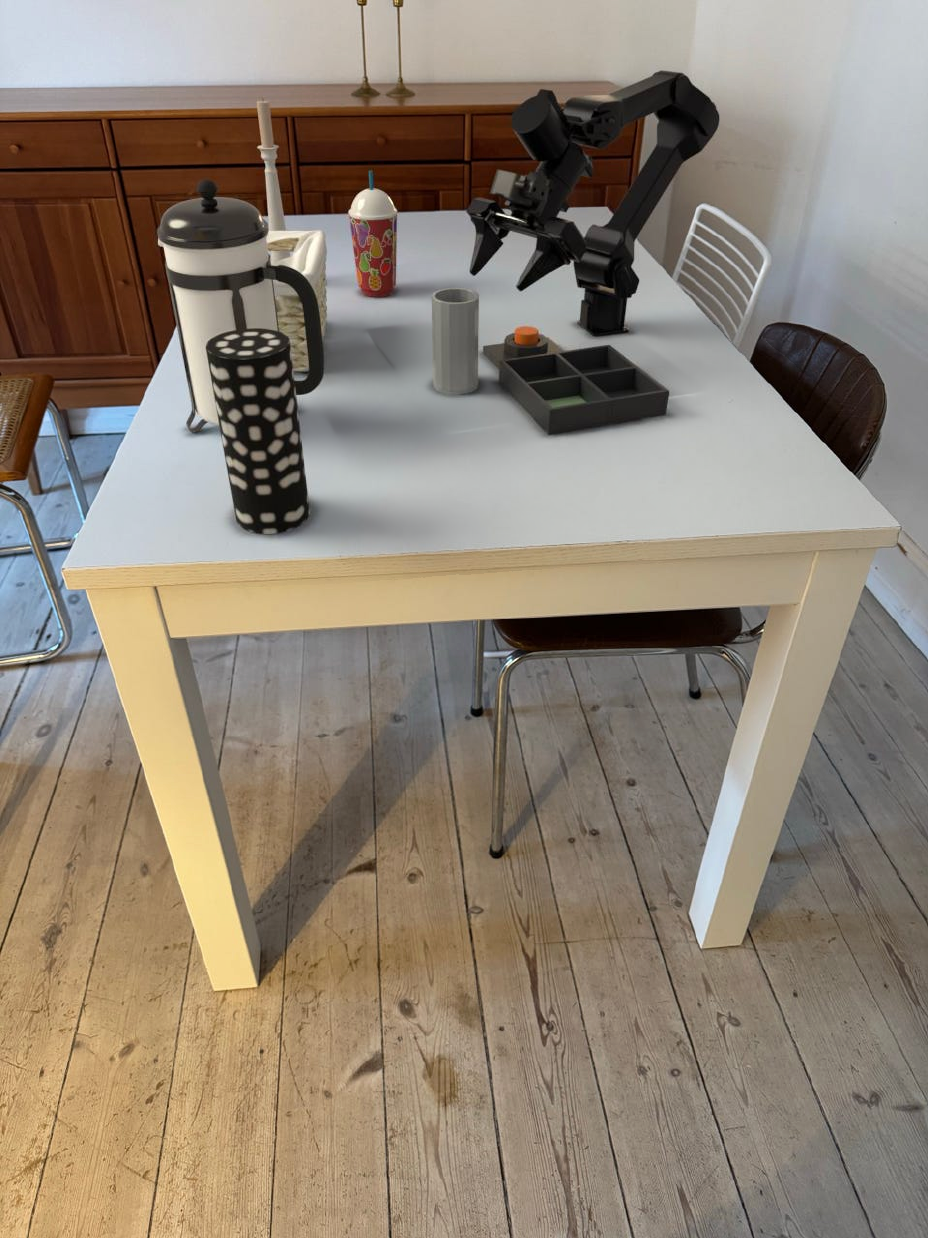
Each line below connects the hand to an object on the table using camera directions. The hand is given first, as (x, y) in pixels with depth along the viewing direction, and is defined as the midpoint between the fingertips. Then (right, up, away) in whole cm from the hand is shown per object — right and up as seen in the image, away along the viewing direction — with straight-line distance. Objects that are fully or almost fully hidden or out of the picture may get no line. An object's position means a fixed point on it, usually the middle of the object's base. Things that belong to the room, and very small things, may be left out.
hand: (494, 281), depth 128 cm
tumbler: (-5, -14, +4) cm, 15 cm away
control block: (+5, -7, +12) cm, 15 cm away
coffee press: (-33, -21, -5) cm, 39 cm away
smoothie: (-20, +11, +37) cm, 43 cm away
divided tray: (+12, -16, +1) cm, 20 cm away
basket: (-34, -5, +16) cm, 37 cm away
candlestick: (-37, +14, +40) cm, 56 cm away
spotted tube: (-26, -36, -24) cm, 50 cm away
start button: (+5, -5, +10) cm, 13 cm away
